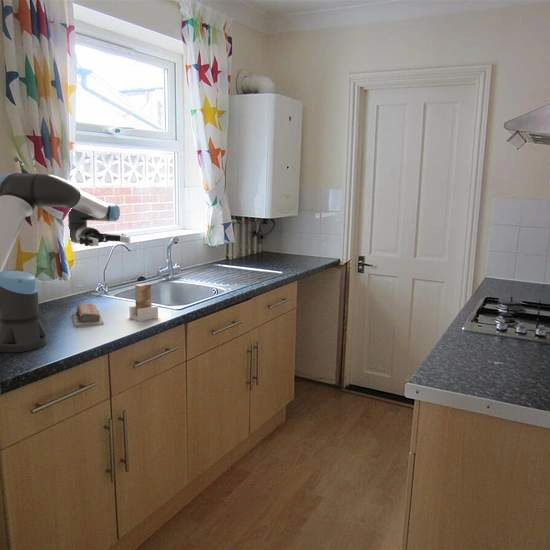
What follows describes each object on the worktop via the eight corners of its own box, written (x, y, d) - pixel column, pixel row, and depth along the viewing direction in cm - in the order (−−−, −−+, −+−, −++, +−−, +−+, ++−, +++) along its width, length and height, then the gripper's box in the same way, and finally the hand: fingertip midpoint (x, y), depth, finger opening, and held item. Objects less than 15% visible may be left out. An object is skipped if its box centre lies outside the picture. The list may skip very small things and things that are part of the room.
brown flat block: (71, 303, 202) (98, 301, 206) (72, 315, 203) (99, 313, 207) (74, 315, 186) (103, 313, 190) (74, 328, 187) (104, 325, 191)
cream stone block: (139, 321, 195) (139, 309, 194) (129, 317, 200) (129, 306, 199) (158, 317, 201) (157, 306, 200) (147, 313, 206) (147, 302, 205)
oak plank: (140, 317, 198) (139, 286, 195) (136, 315, 200) (135, 284, 197) (151, 314, 201) (150, 284, 199) (147, 313, 203) (146, 283, 201)
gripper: (115, 243, 231) (141, 248, 216) (59, 247, 213) (83, 253, 198) (115, 226, 229) (141, 230, 215) (58, 229, 212) (83, 233, 197)
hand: (113, 241), depth 206 cm, fingers open, 13 cm apart
